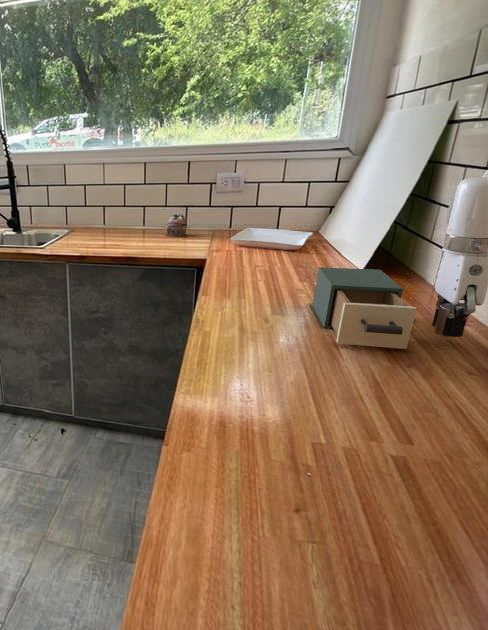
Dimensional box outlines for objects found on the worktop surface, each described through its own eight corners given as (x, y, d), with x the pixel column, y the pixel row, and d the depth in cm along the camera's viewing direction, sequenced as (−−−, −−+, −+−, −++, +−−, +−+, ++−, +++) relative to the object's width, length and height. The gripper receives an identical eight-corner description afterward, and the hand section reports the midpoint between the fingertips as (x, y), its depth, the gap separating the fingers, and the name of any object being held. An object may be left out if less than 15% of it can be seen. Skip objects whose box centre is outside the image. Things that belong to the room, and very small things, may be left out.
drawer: (415, 359, 87) (426, 317, 83) (342, 353, 90) (350, 312, 87) (383, 322, 104) (392, 286, 100) (323, 318, 107) (330, 283, 104)
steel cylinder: (453, 330, 94) (460, 303, 92) (462, 338, 91) (469, 310, 89) (430, 329, 96) (436, 302, 93) (438, 336, 92) (445, 309, 90)
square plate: (228, 247, 184) (229, 237, 183) (246, 235, 205) (247, 226, 203) (301, 253, 169) (302, 243, 168) (312, 240, 190) (314, 231, 189)
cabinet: (392, 333, 100) (403, 288, 96) (323, 328, 104) (331, 285, 100) (371, 310, 114) (380, 269, 110) (312, 306, 118) (318, 267, 114)
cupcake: (186, 233, 213) (187, 212, 209) (186, 238, 204) (187, 215, 201) (165, 233, 215) (166, 212, 211) (165, 237, 206) (166, 215, 203)
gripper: (518, 254, 78) (490, 350, 84) (471, 235, 93) (450, 317, 99) (465, 254, 80) (441, 347, 87) (428, 235, 95) (410, 315, 101)
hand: (446, 330), depth 93 cm, fingers closed on steel cylinder, 4 cm apart
